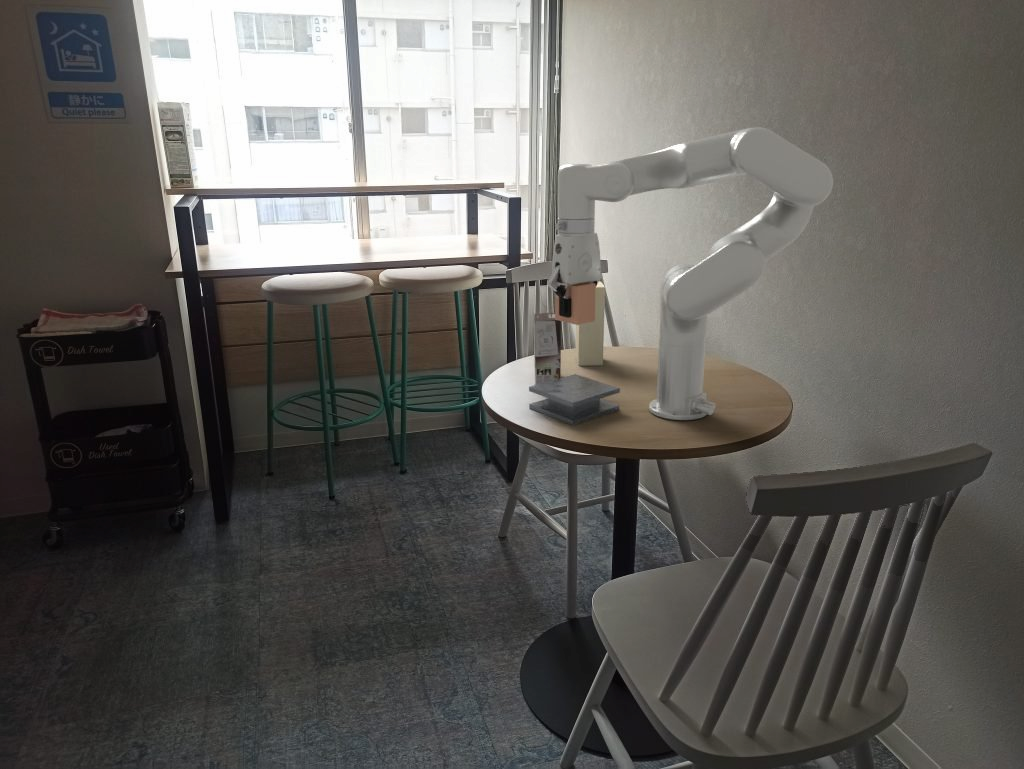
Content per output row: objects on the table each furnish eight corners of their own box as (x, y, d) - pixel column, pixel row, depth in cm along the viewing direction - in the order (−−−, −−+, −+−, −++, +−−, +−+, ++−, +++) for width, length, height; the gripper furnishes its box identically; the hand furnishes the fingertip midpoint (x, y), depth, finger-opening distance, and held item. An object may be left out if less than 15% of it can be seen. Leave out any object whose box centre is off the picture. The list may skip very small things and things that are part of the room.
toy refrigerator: (606, 365, 191) (607, 286, 184) (578, 366, 191) (579, 287, 184) (602, 357, 198) (603, 281, 192) (575, 357, 198) (575, 281, 192)
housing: (594, 321, 153) (595, 278, 150) (577, 325, 150) (577, 281, 147) (572, 315, 158) (572, 274, 155) (555, 319, 155) (555, 277, 152)
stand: (619, 409, 158) (619, 388, 157) (572, 425, 150) (573, 402, 149) (575, 394, 169) (575, 374, 167) (529, 408, 160) (529, 386, 159)
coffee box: (561, 385, 176) (561, 320, 171) (534, 385, 176) (534, 320, 171) (559, 373, 184) (559, 311, 179) (534, 374, 185) (533, 312, 180)
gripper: (556, 232, 140) (556, 323, 145) (618, 225, 150) (616, 311, 155) (532, 229, 145) (532, 317, 151) (593, 222, 155) (591, 306, 161)
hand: (575, 313), depth 153 cm, fingers closed on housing, 5 cm apart
